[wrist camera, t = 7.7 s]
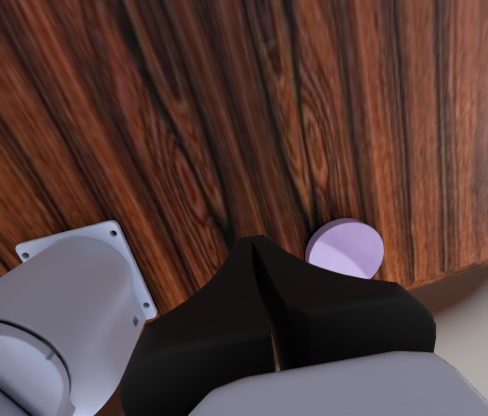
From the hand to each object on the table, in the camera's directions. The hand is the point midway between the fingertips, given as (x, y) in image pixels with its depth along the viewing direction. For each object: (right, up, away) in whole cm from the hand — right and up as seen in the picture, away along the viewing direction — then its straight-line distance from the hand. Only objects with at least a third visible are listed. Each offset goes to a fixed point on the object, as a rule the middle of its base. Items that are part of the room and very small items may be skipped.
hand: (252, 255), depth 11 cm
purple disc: (+8, -1, +10) cm, 13 cm away
